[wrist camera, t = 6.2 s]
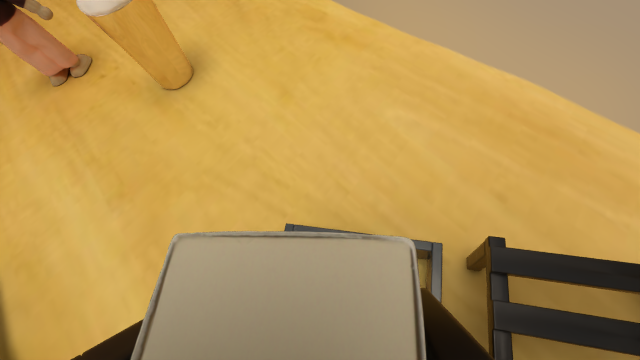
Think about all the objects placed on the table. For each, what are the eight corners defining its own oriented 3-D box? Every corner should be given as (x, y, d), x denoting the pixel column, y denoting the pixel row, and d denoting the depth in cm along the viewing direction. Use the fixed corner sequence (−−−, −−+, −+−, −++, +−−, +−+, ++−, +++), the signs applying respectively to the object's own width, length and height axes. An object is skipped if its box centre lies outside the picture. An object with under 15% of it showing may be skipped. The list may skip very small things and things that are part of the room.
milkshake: (198, 46, 30) (121, -74, 21) (201, 86, 27) (116, -32, 19) (153, 61, 30) (59, -52, 21) (153, 102, 28) (46, -8, 19)
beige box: (401, 300, 14) (434, 233, 5) (404, 419, 12) (463, 624, 3) (291, 292, 15) (165, 224, 6) (277, 400, 13) (70, 520, 4)
